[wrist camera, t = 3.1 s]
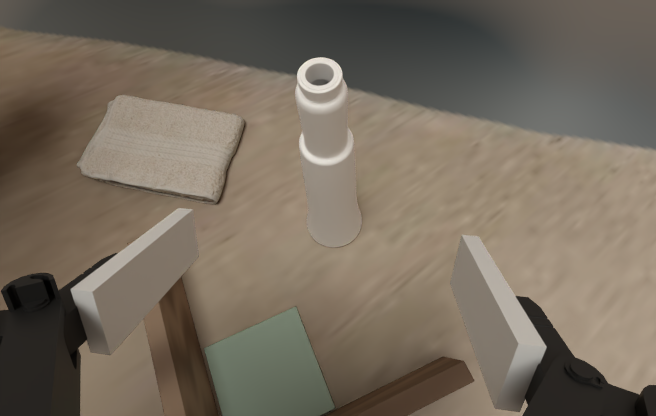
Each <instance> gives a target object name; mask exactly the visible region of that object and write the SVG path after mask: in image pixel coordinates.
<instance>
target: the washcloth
mask: <svg viewBox="0 0 656 416" xmlns="http://www.w3.org/2000/svg"><path fill="white" fill-rule="evenodd" d="M244 123H245V121H244V119H243V118H242V117H240V116H237V115H236V114H229V113H226V112H218V111H215V110H213V111H209V110H207V109H200V108H195V107H189V106H185V105H183V104H182V105H177V104H173V103H167V102H159V101H154V100H147V99H145V100H144V99H143V98H138V97H133V96H126V95H121V96H117V97H116V98H115V100H113V101H111V102H110V103H109V104H108V111H107V113H106V115H105V117H104V119H103V121H102V123H101V124H100V126H99V127H98V129H97V131H96V133H95V134H94V136H93V138H92V139H91V141H90V142H89V144H88V145H87V147H86V149H85V151H84V153H83V155H82V157H81V159H80V161H79V162H78V163H77V167H79V168H81V174H82V175H84V176H87V177H91V178H93V179H94V178H95V179H97V180H98V181H101V182H102V181H104V182H105V183H109V184H111V185H114V186H120V187H124V188H128V189H134V190H139V191H144V192H149V193H154V194H159V195H165V196H170V197H176V198H181V199H186V200H190V201H195V202H200V203H205V204H216V203H217V202H218V200H219V198H220V195H221V193H222V190H223V186H224V184H225V179H226V171H227V168H228V166H229V164H230V161H231V158H232V156H234V154H235V152H236V149H237V146H238V143H239V141H240V137H241V134H242V131H243V128H244Z"/></svg>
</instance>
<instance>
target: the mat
mask: <svg viewBox="0 0 656 416" xmlns="http://www.w3.org/2000/svg"><path fill="white" fill-rule="evenodd" d="M204 350H205V354H206V357H207V361H208V365H209V368H210V372H211V376H212V379H213V383H214V387H215V390H216V394H217V398H218V401H219V405H220V408H221V412H222V416H320V415H322V414H324V413H326V412H328V411H330V410H332V409H334V408H335V406H334V403H333V400H332V398H331V395H330V393H329V390H328V388H327V385H326V382H325V380H324V377H323V375H322V372H321V370H320V367H319V364H318V362H317V359H316V357H315V354H314V351H313V349H312V346H311V344H310V341H309V339H308V336H307V333H306V331H305V328H304V326H303V323H302V321H301V318H300V315H299V313H298V310H297V308H296V307H293V308H291V309H289V310H287V311H285V312H283V313H280V314H278V315H276V316H274V317H272V318H269V319H267V320H265V321H263V322H261V323H258V324H256V325H254V326H252V327H250V328H248V329H245V330H243V331H241V332H239V333H237V334H234V335H232V336H230V337H228V338H226V339H223V340H221V341H219V342H217V343H215V344H212V345H210V346H208V347H206V348H204Z"/></svg>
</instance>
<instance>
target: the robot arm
mask: <svg viewBox="0 0 656 416" xmlns="http://www.w3.org/2000/svg"><path fill="white" fill-rule="evenodd" d="M198 257H199V253H198V245H197V237H196V229H195V221H194V214H193V209H183V208H178V209H177V210H175V211H174V212H173V213H171V214H170V215H169V216H167V217H166V218H165V219H163V220H162V221H161V222H159V223H158V224H157V225H155V226H154V227H153V228H151V229H150V230H149V231H147V232H146V233H145V234H143V235H142V236H141V237H139V238H138V239H137V240H135V241H134V242H133V243H131V244H130V245H129V246H127V247H126V248H125V249H123V250H122V251H121V252H119V253H115V254H112V255H110V256H108V257H106V258H103V259H102V260H100V261H99V262H97V263H96V264H95V265H93V266H92V268H89V269H88V270H86V271H85V272H84V274H81V275H80V276H78V277H77V278H75V279H74V280H73V281H71V282H70V283H69V284H67V285H66V286H64V287H63V288H62V289H60V290H59V291H58V288H57V285H56V282H55V279H54V277H53V275H51V274H49V273H36V274H30V275H27V276H23V277H20V278H18V279H16V280H14V281H12V282H10V283H9V284H7V285H6V286H4V288H3V289H2V290H1V293H2V295H3V297H4V300H5V302H6V304H7V307H8V309H9V310H3V311H0V416H80V364H81V355H80V352H79V349H78V348H79V347H80V346H81V345H82V344H83V343H84V342H85V341H86V340H87V342H88V345H89V348H90V351H91V352H92V353H99V354H106V355H111V354H112V353H113V352H114V351H115V350H116V349H117V348H118V347H119V345H120V344H121V343H122V342H123V341H124V340H125V339H126V338H127V336H128V335H129V334H130V333H131V332H132V331H133V330H134V329H135V327H136V326H137V325H138V324H139V323H140V322H141V321H142V320H143V319H144V317H145V316H146V315H147V314H148V313H149V312H150V311H151V310H152V308H153V307H154V306H155V305H156V304H157V303H158V302H159V301H160V299H161V298H162V297H163V296H164V295H165V294H166V293H167V292H168V290H169V289H170V288H171V287H172V286H173V285H174V284H175V283H176V282H177V280H178V279H179V278H180V277H181V276H182V275H183V274H184V273H185V271H186V270H187V269H188V268H189V267H190V266H191V265H192V264H193V262H194V261H195V260H196V259H197V258H198ZM450 285H451V287H452V290H453V293H454V296H455V299H456V301H457V304H458V307H459V310H460V313H461V315H462V318H463V321H464V324H465V327H466V329H467V332H468V335H469V338H470V341H471V344H472V346H473V349H474V352H475V355H476V358H477V360H478V363H479V366H480V369H481V372H482V374H483V377H484V380H485V383H486V386H487V388H488V391H489V394H490V397H491V400H492V402H493V405H494V408H495V409H501V410H508V411H516V412H520V410H521V408H522V405H523V403H524V401H525V399H526V402H527V404H528V407H527V408H526V410H525V412H524V414H523V416H656V385H648V386H647V387H645V388H644V389H643V390H642V392H641V394H640V395H639V394H636V393H633V392H630V391H627V390H625V389H622V388H619V387H616V386H613V385H611V384H608V383H607V381H606V379H605V378H604V376H603V375H602V374H601V373H600V372H599V371H598V370H597V369H596V368H594V367H593V366H591V365H590V364H588V363H587V362H585V361H582V360H580V359H578V358H575V357H574V355H573V354H572V353H571V351H570V350H569V348H568V347H567V345H566V344H565V342H564V341H563V340H562V338H561V337H560V335H559V334H558V332H557V331H556V329H555V328H553V325H552V324H551V322H550V321H549V320H548V319H547V316H546V315H545V313H544V312H543V311H542V309H541V308H540V307H539V306H538V305H537V304H536V303H534V302H533V301H532V300H531V299H529V298H528V297H520V296H515V295H514V293H513V292H512V290H511V288H510V287H509V285H508V284H507V282H506V280H505V279H504V277H503V275H502V274H501V272H500V271H499V269H498V267H497V266H496V264H495V262H494V261H493V259H492V258H491V256H490V254H489V253H488V251H487V249H486V248H485V246H484V245H483V243H482V241H481V240H480V238H479V236H469V235H461V239H460V244H459V248H458V252H457V256H456V261H455V265H454V269H453V273H452V278H451V282H450Z"/></svg>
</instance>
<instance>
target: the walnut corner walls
mask: <svg viewBox="0 0 656 416" xmlns="http://www.w3.org/2000/svg"><path fill="white" fill-rule="evenodd" d="M134 241H135V240H134ZM134 241H132V242H129V243H127V245H128V246H129V245H130V244H131V243H133V242H134ZM144 323H145V328H146V332H147V337H148V341H149V346H150V351H151V355H152V360H153V364H154V369H155V374H156V378H157V383H158V387H159V392H160V397H161V401H162V406H163V411H164V415H165V416H218V412H217V408H216V405H215V401H214V397H213V393H212V390H211V386H210V382H209V379H208V375H207V371H206V367H205V364H204V360H203V356H202V353H201V349H200V345H199V342H198V338H197V334H196V330H195V327H194V323H193V319H192V316H191V312H190V308H189V305H188V301H187V297H186V293H185V290H184V286H183V282H182V279H181V277H180V278H179V279H178V280H177V282H176V283H175V284H174V285H173V286H172V287H171V288H170V289H169V290H168V292H167V293H166V294H165V295H164V296H163V297H162V298H161V299H160V301H159V302H158V303H157V304H156V305H155V306H154V307H153V308H152V310H151V311H150V312H149V313H148V314H147V315H146V316H145V317H144ZM472 382H474V379H473V377H472V375H471V373H470V372H469V370H468V368H467V366H466V364H465V362H464V361H462V360H457V359H452V358H447V357H441V358H439V359H437V360H435V361H433V362H431V363H429V364H427V365H425V366H423V367H421V368H419V369H417V370H415V371H413V372H411V373H409V374H407V375H405V376H403V377H401V378H399V379H397V380H395V381H393V382H391V383H389V384H387V385H385V386H383V387H381V388H379V389H377V390H375V391H373V392H371V393H369V394H367V395H365V396H363V397H361V398H359V399H357V400H355V401H353V402H351V403H349V404H347V405H345V406H343V407H341V408H339V409H337V410H335V411H333V412H331V413H329V414H327V415H325V416H407V415H409V414H411V413H413V412H415V411H417V410H419V409H421V408H423V407H425V406H427V405H429V404H431V403H433V402H435V401H437V400H438V399H440V398H442V397H444V396H446V395H448V394H450V393H452V392H454V391H456V390H458V389H460V388H462V387H464V386H466V385H468V384H470V383H472Z"/></svg>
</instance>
